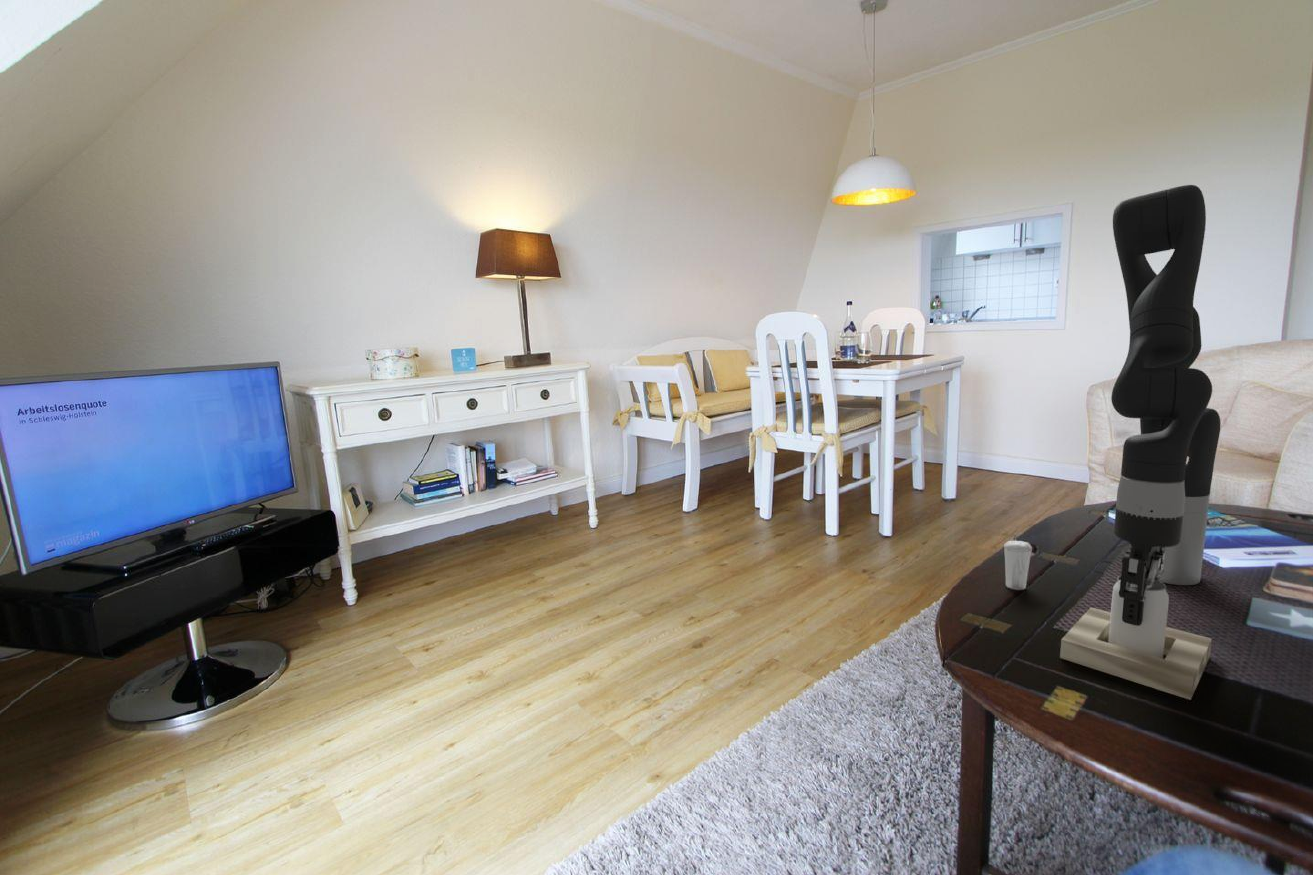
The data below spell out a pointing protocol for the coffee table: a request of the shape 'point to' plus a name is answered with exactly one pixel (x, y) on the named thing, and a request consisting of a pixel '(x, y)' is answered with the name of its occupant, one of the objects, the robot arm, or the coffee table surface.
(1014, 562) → the milkshake
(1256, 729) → the coffee table surface
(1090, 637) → the socket block
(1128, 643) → the can
